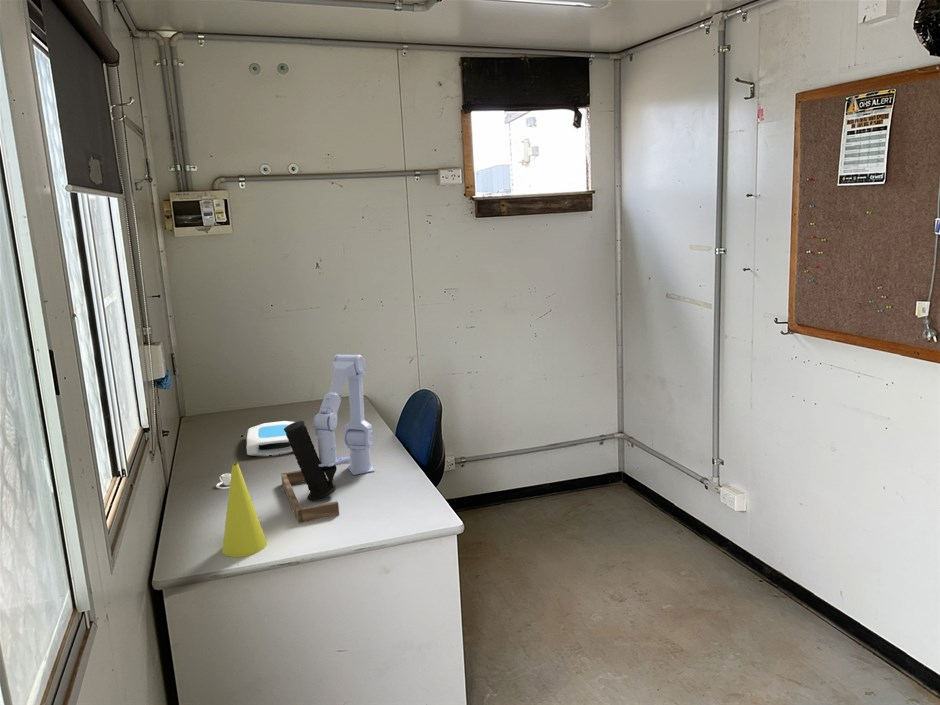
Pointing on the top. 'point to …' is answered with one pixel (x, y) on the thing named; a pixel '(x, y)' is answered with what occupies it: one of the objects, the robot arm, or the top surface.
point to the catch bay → (306, 512)
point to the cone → (241, 520)
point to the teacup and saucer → (225, 480)
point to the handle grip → (308, 461)
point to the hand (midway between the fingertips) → (330, 487)
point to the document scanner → (267, 438)
